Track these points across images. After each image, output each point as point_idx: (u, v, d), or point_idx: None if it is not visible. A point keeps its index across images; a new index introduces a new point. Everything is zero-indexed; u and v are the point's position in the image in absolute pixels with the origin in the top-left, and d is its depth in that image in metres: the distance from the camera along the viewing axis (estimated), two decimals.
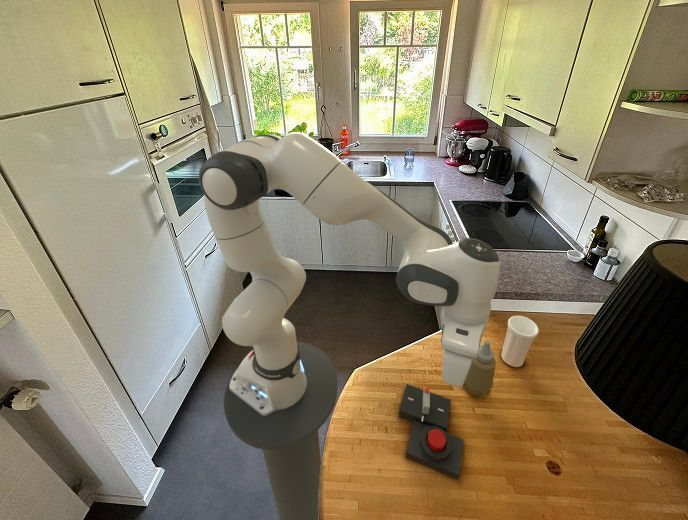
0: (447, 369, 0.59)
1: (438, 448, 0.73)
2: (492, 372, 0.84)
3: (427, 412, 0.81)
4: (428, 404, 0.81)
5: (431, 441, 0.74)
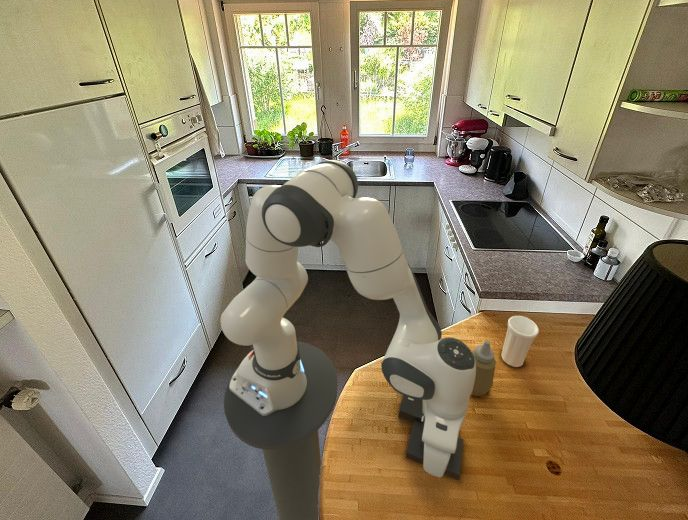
0: (428, 461, 0.63)
1: None
2: (492, 372, 0.84)
3: None
4: None
5: None
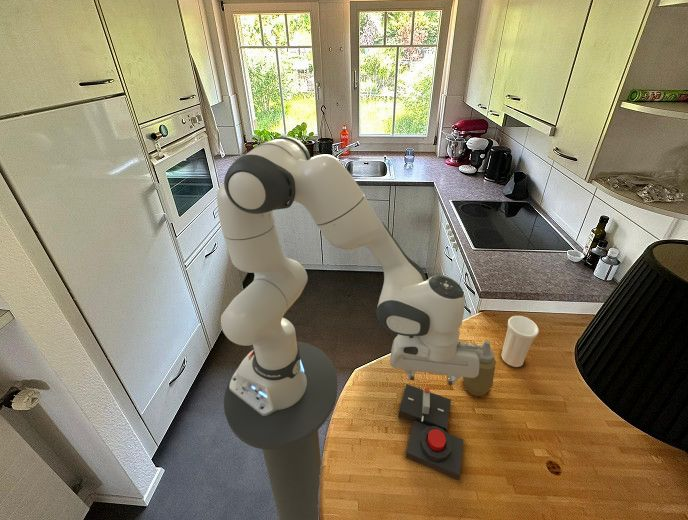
0: (392, 346, 0.77)
1: (438, 448, 0.73)
2: (492, 372, 0.84)
3: (427, 412, 0.81)
4: (428, 404, 0.81)
5: (431, 441, 0.74)
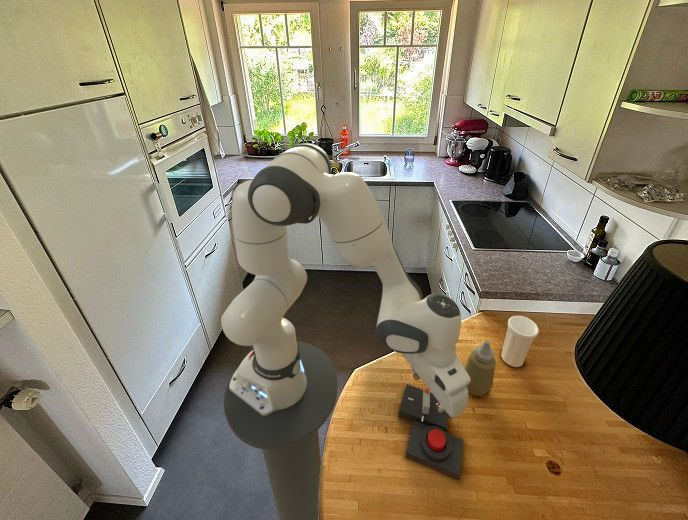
0: (456, 407, 0.69)
1: (438, 448, 0.73)
2: (492, 372, 0.84)
3: (427, 412, 0.81)
4: (428, 404, 0.81)
5: (431, 441, 0.74)
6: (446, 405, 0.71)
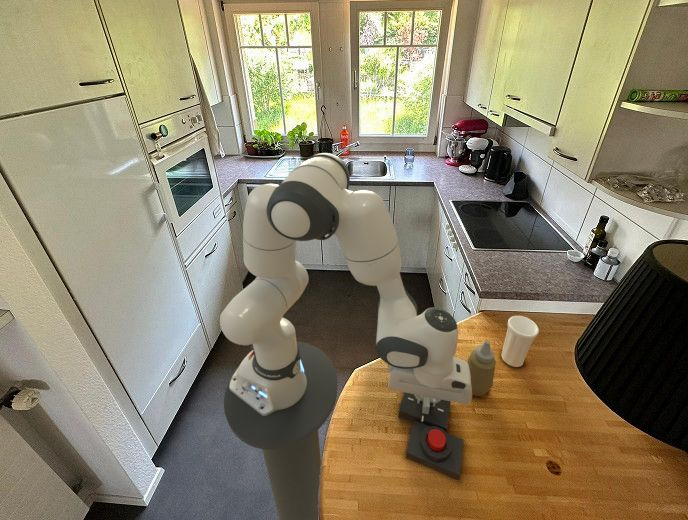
0: None
1: (438, 448, 0.73)
2: (492, 372, 0.84)
3: (427, 412, 0.81)
4: (428, 404, 0.81)
5: (431, 441, 0.74)
6: (462, 398, 0.77)
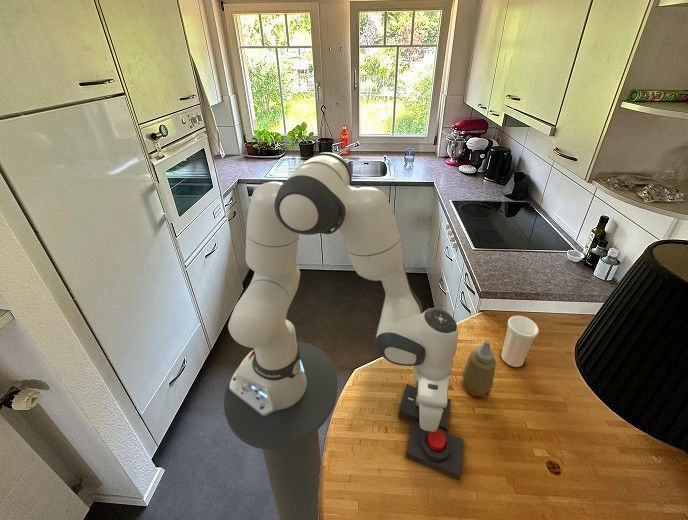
0: (424, 419, 0.71)
1: (438, 448, 0.73)
2: (492, 372, 0.84)
3: (416, 402, 0.83)
4: None
5: (431, 441, 0.74)
6: None
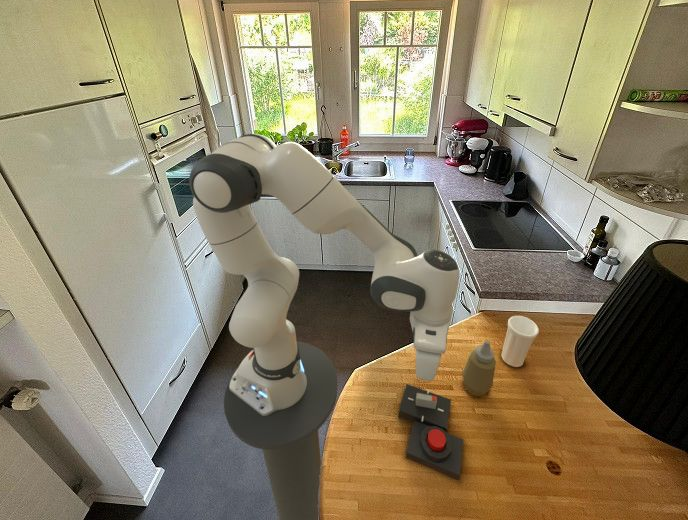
0: (420, 367, 0.66)
1: (438, 448, 0.73)
2: (492, 372, 0.84)
3: (416, 402, 0.83)
4: (419, 397, 0.82)
5: (431, 441, 0.74)
6: None
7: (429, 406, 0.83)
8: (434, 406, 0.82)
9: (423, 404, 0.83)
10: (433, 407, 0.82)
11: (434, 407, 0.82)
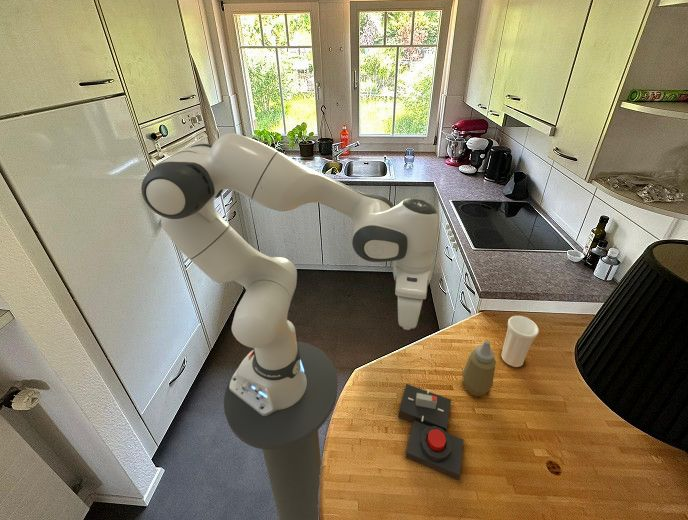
0: (402, 313, 0.67)
1: (438, 448, 0.73)
2: (492, 372, 0.84)
3: (416, 402, 0.83)
4: (419, 397, 0.82)
5: (431, 441, 0.74)
6: None
7: (429, 406, 0.83)
8: (434, 406, 0.82)
9: (423, 404, 0.83)
10: (433, 407, 0.82)
11: (434, 407, 0.82)
